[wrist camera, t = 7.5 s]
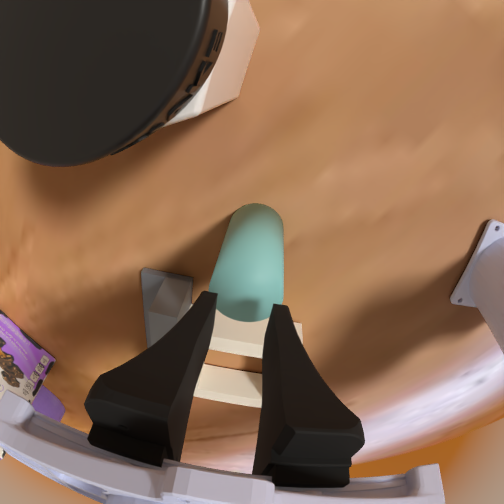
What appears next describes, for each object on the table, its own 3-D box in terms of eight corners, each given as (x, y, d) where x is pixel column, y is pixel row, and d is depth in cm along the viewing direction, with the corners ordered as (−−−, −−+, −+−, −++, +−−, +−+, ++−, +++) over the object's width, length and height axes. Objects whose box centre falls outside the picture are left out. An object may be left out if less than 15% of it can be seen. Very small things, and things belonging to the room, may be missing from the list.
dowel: (288, 209, 20) (291, 271, 14) (277, 255, 22) (274, 327, 16) (233, 198, 20) (212, 257, 14) (226, 246, 22) (206, 314, 16)
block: (301, 323, 25) (302, 351, 22) (277, 385, 30) (276, 409, 27) (190, 303, 25) (181, 329, 22) (188, 369, 29) (181, 393, 27)
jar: (137, 131, 18) (2, 206, 8) (107, 21, 14) (-42, 9, 4) (276, 93, 16) (271, 114, 6) (243, -28, 12) (193, -142, 2)
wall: (192, 277, 24) (177, 317, 20) (188, 381, 31) (179, 416, 27) (143, 267, 24) (121, 304, 20) (152, 372, 31) (140, 406, 27)
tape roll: (3, 373, 40) (-9, 392, 36) (25, 366, 36) (11, 390, 32) (47, 412, 45) (38, 432, 41) (76, 412, 41) (66, 435, 37)
